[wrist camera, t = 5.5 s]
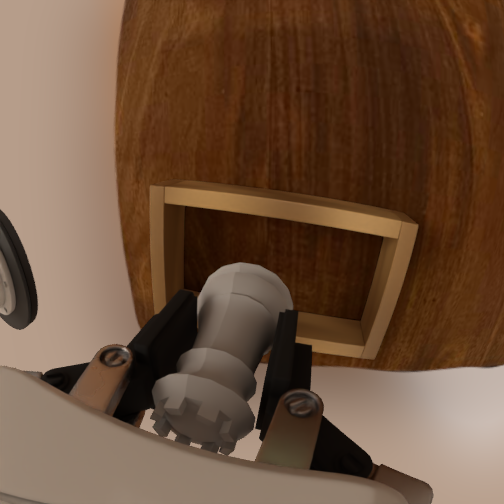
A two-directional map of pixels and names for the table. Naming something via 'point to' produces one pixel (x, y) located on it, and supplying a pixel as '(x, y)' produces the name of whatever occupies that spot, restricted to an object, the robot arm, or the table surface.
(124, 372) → the robot arm
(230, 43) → the table surface
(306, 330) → the rectangular wooden frame
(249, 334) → the rook chess piece
